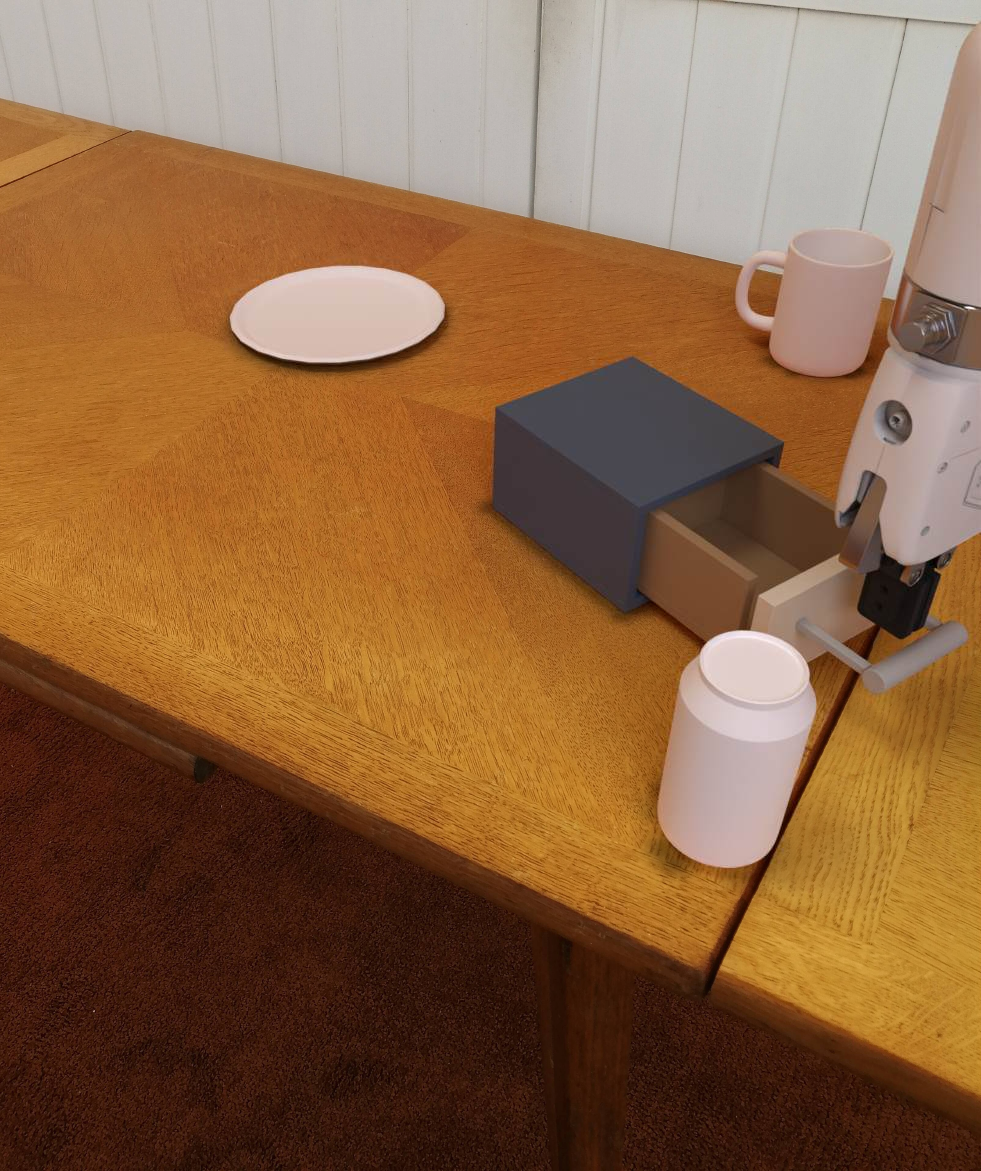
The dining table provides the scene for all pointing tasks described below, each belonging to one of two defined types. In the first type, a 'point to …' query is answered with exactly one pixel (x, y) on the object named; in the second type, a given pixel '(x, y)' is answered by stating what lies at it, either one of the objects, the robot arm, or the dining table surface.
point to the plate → (337, 315)
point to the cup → (822, 299)
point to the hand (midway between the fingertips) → (888, 620)
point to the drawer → (771, 573)
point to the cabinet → (612, 465)
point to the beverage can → (735, 748)
